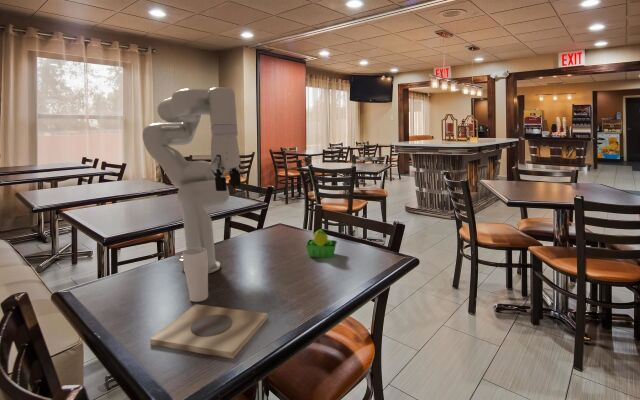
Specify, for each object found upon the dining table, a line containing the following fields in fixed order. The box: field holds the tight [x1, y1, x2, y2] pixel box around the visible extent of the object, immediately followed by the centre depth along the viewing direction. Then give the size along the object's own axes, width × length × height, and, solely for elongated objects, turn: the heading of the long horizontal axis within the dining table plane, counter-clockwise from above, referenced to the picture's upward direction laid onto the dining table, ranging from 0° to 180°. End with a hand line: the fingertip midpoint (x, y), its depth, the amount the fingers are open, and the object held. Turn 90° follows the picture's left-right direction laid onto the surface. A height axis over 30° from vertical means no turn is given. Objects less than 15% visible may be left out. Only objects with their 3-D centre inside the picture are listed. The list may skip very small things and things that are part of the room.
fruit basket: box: [305, 229, 338, 259], centre depth 146 cm, size 11×9×11 cm
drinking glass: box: [182, 247, 209, 303], centre depth 112 cm, size 7×7×15 cm
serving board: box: [149, 303, 268, 359], centre depth 95 cm, size 22×18×2 cm
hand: (228, 188), depth 115 cm, fingers open, 9 cm apart
